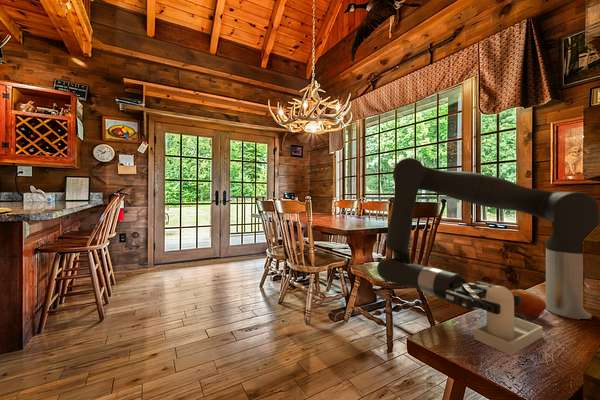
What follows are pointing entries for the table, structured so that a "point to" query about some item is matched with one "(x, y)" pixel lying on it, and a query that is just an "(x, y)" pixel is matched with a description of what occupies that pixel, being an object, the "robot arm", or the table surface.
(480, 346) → the table surface
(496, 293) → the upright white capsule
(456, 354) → the table surface
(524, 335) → the tray
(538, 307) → the fruit
